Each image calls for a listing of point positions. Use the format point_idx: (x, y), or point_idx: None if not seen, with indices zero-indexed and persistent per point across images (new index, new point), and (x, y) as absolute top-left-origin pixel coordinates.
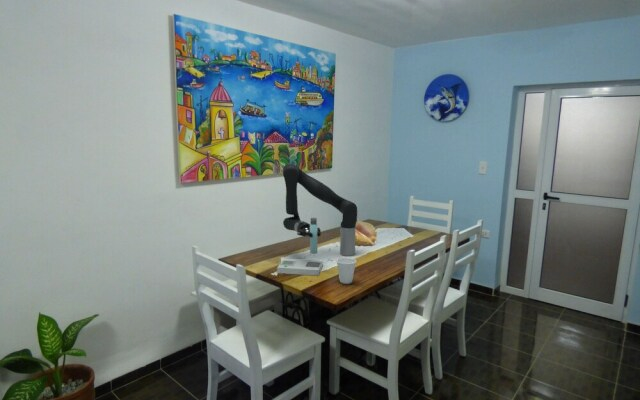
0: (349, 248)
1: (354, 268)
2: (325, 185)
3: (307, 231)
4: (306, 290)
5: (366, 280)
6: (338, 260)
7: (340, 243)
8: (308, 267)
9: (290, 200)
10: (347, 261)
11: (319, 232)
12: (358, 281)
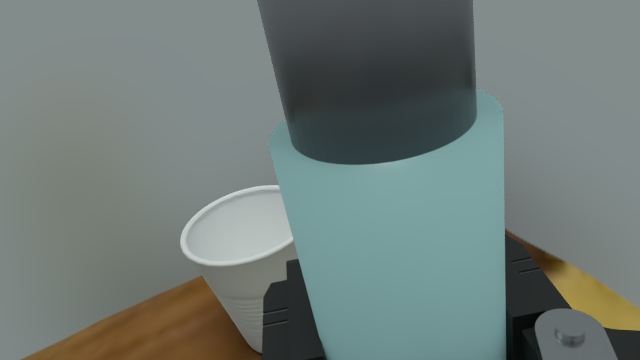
0: None
1: (224, 243)
2: None
3: (579, 321)
4: (537, 257)
5: (167, 330)
6: (280, 255)
7: None
8: None
9: None
10: (213, 277)
11: (298, 259)
12: (215, 324)
